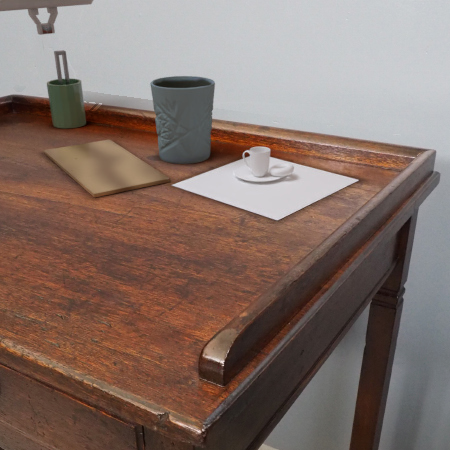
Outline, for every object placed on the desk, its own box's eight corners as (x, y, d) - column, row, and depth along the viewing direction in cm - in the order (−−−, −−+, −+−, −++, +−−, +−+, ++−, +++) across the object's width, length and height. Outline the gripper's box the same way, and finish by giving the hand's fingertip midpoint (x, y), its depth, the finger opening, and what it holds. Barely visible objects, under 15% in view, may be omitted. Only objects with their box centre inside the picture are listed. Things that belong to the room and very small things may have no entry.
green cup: (59, 130, 118) (52, 86, 114) (49, 122, 123) (42, 80, 118) (91, 125, 121) (85, 82, 116) (80, 118, 125) (74, 77, 121)
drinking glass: (143, 159, 102) (137, 84, 96) (176, 143, 110) (173, 72, 104) (196, 168, 98) (193, 90, 92) (226, 151, 105) (226, 78, 99)
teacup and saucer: (300, 175, 95) (302, 149, 92) (268, 189, 89) (268, 162, 87) (256, 163, 100) (256, 138, 98) (223, 176, 95) (223, 150, 92)
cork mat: (94, 197, 88) (93, 193, 87) (44, 153, 105) (43, 150, 105) (169, 182, 93) (169, 178, 93) (110, 142, 111) (109, 139, 110)
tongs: (65, 122, 120) (55, 52, 114) (63, 121, 121) (53, 51, 115) (75, 121, 121) (65, 51, 115) (73, 120, 122) (63, 50, 115)
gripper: (82, -51, 119) (91, 27, 126) (-28, -47, 110) (-11, 36, 117) (93, -50, 114) (103, 30, 122) (-20, -46, 106) (-3, 40, 113)
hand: (46, 33), depth 119 cm, fingers closed
